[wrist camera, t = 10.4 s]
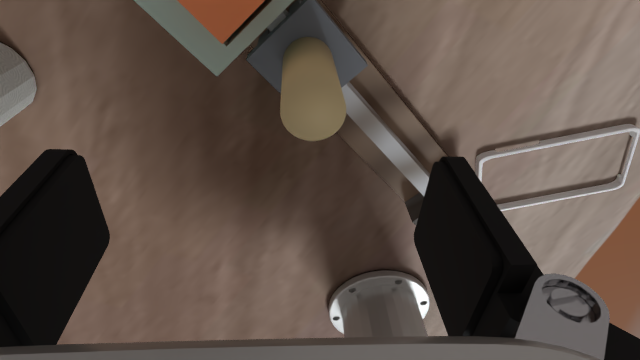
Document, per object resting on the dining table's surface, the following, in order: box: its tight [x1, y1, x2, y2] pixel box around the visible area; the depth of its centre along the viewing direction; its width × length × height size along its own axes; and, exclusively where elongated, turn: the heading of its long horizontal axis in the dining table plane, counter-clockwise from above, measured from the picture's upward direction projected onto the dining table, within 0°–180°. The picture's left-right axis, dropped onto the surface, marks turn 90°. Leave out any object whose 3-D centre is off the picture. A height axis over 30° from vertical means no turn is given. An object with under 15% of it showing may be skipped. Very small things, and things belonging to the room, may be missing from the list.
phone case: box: [475, 124, 640, 211], centre depth 39 cm, size 7×1×15 cm
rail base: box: [250, 0, 448, 225], centre depth 33 cm, size 23×6×4 cm, turn 41°
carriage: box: [246, 0, 368, 141], centre depth 25 cm, size 6×6×11 cm
